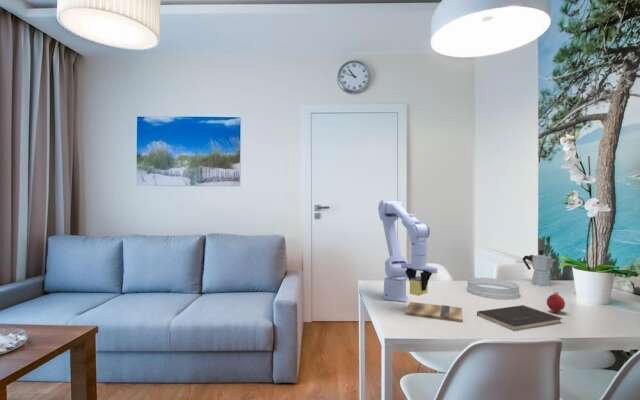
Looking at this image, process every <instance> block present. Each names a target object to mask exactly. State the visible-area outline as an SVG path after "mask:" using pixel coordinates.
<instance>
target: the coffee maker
mask: <svg viewBox="0 0 640 400" xmlns="http://www.w3.org/2000/svg"><path fill="white" fill-rule="evenodd" d="M544 252H545V251H544V250H542V249H540V250H538V254H536V255H534V254H530V255H524V256H523V257H522V262H523V263H524V264H525V266H526V268H527V270H528V271H529V270H531V269H533V274H532V278H531V283H532V284H534V285H533V286H535V285H540V286H550V285H552V284H551V279H550V273H549V271H550V269H551V266H552V265H553V263H554V262H555V261H556V259H555V258H554V259H553V258H551V257H550V256H547V255H544ZM527 260H528V261H530V262H531V263H532V268H531V266H530V265H529V263H528V261H527ZM532 284H531V285H532ZM540 286H539V287H540ZM550 287H551V286H550Z"/></svg>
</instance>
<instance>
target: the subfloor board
mask: <svg viewBox="0 0 640 400" xmlns="http://www.w3.org/2000/svg"><path fill="white" fill-rule="evenodd" d="M404 314H405V315H406V316H414V317H421V318H429V319H436V320H443V321H449V322H451V321H452V322H460V323H463V319H464V318H463V307H457V306H450V305H445V304H432V303H422V302H415V301H414V302H413V301H409V303H408V305H407V307H406V309H405V312H404Z"/></svg>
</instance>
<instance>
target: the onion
mask: <svg viewBox="0 0 640 400" xmlns="http://www.w3.org/2000/svg"><path fill="white" fill-rule="evenodd" d="M546 305H547V307H548V309H549V310H551V311H552V312H554V313H559V312H560V311H562V310H564V309H565V306H566V302H565V300H564V298H562V296H560V294H559V292H557V291H555V292H553V293H552V294H551V295H549V296H548V297H547V299H546Z"/></svg>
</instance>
